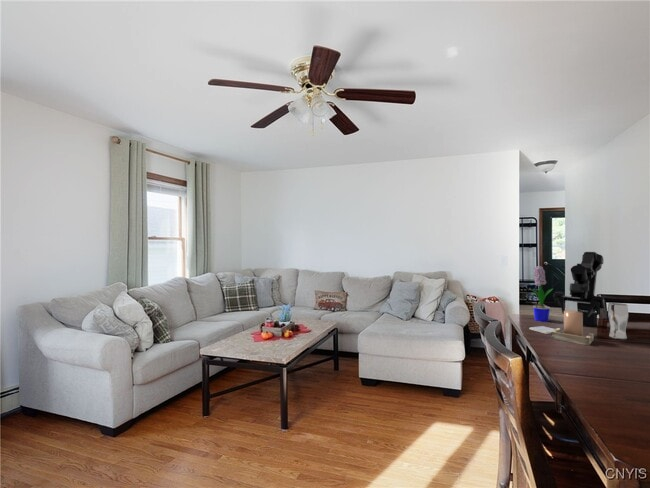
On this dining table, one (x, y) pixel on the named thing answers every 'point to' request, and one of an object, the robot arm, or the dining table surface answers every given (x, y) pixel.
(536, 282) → the hyacinth
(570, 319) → the peach tapered rounded piece
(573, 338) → the frame
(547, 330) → the tile
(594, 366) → the dining table surface
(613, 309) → the beer glass
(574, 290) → the robot arm
